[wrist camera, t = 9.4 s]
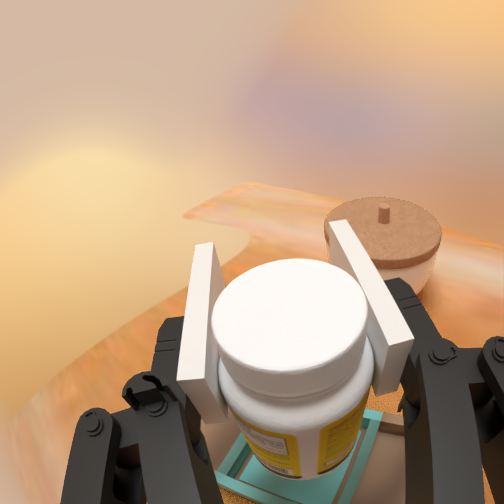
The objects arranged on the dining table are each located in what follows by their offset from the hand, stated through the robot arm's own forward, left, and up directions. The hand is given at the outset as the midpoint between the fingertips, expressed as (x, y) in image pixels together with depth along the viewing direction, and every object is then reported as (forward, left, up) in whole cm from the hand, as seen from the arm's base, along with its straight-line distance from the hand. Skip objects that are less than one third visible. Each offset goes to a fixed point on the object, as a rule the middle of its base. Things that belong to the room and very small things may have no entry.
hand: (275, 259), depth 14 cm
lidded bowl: (-19, +2, -18) cm, 27 cm away
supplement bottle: (+5, +3, -6) cm, 8 cm away
